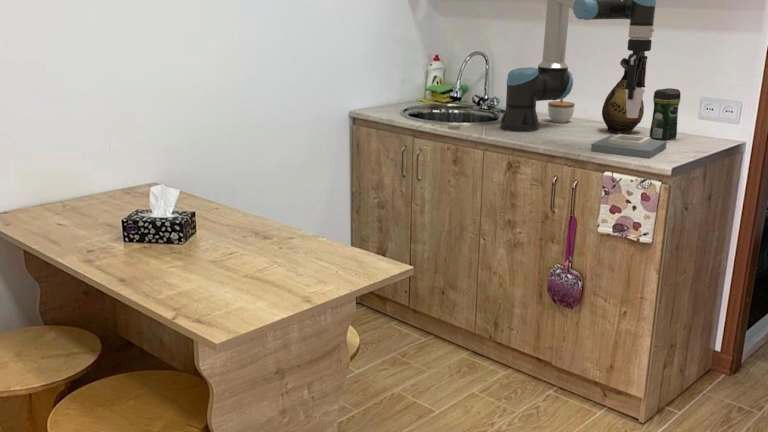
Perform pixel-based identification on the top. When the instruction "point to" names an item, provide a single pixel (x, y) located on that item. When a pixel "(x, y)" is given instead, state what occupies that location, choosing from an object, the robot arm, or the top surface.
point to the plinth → (629, 145)
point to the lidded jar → (560, 111)
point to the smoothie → (638, 100)
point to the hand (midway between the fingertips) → (633, 107)
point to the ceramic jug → (620, 107)
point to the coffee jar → (665, 114)
